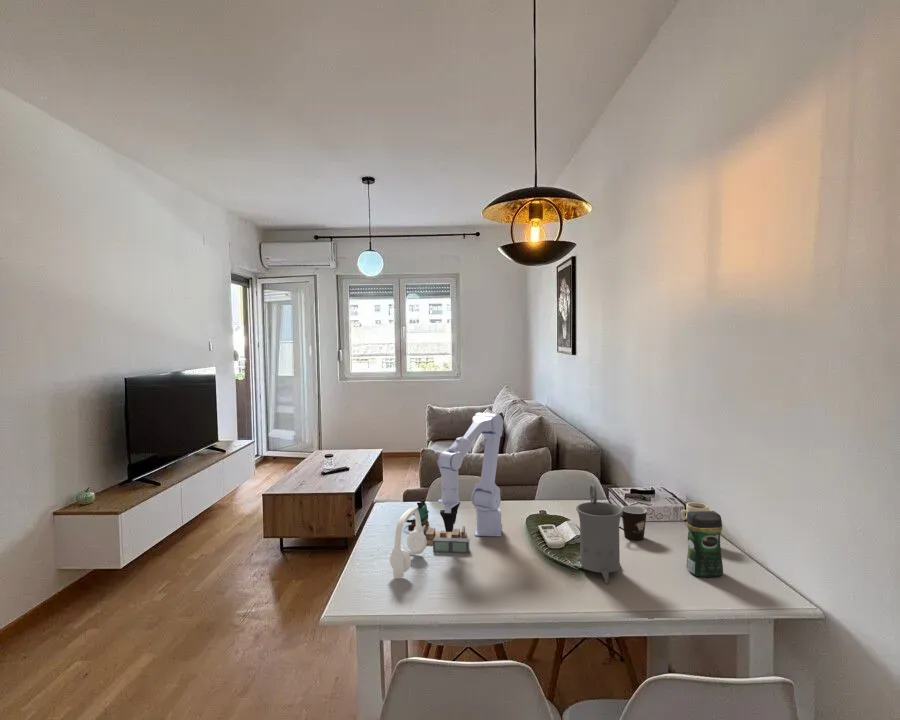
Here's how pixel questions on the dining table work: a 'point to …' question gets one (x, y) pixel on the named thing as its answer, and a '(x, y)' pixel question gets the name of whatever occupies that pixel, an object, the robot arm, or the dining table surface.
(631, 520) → the coffee mug
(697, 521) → the coffee jar
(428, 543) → the stand
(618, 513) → the gray footed pot
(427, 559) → the dining table surface
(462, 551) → the grey rectangular box
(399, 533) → the headset
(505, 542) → the dining table surface
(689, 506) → the character mug
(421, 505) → the binoculars
